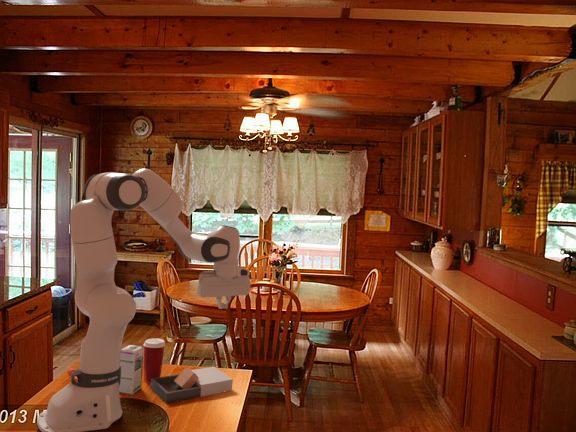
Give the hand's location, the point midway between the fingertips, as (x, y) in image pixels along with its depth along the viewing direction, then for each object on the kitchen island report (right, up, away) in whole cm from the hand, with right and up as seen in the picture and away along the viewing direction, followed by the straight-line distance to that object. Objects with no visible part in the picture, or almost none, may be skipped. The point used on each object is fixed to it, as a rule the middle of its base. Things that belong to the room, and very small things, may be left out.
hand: (222, 308), depth 170 cm
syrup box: (-30, -25, -12) cm, 41 cm away
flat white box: (-5, -27, -4) cm, 28 cm away
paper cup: (-25, -26, -2) cm, 36 cm away
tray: (-15, -26, -11) cm, 32 cm away
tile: (-10, -24, -9) cm, 27 cm away
